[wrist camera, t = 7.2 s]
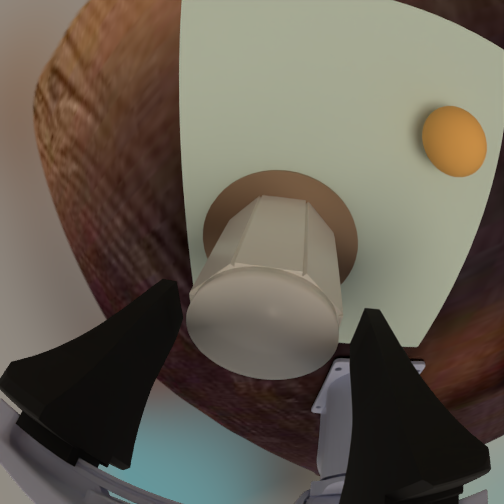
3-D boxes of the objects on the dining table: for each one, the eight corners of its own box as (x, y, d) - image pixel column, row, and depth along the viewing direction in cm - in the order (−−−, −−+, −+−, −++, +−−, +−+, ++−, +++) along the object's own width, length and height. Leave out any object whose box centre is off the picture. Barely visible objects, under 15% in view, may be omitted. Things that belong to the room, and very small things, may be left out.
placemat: (416, 342, 17) (417, 346, 17) (200, 318, 19) (198, 322, 19) (504, 52, 6) (508, 52, 6) (186, -7, 8) (182, -9, 8)
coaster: (338, 310, 16) (339, 313, 16) (209, 292, 17) (207, 295, 17) (371, 182, 12) (373, 184, 11) (200, 164, 13) (198, 166, 12)
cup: (321, 291, 15) (319, 386, 10) (229, 278, 16) (195, 365, 11) (340, 205, 12) (358, 292, 7) (228, 192, 13) (176, 266, 8)
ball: (458, 171, 10) (489, 195, 8) (407, 157, 11) (433, 178, 8) (469, 114, 8) (504, 125, 6) (416, 95, 9) (446, 99, 6)
